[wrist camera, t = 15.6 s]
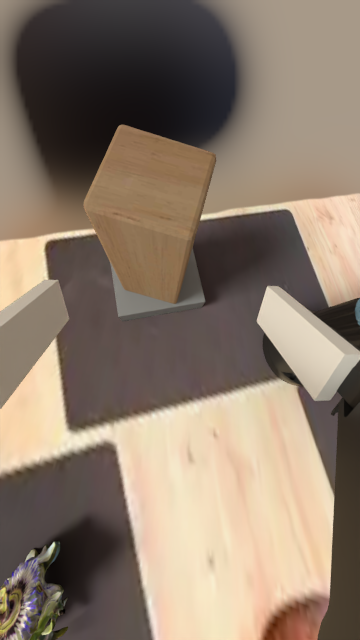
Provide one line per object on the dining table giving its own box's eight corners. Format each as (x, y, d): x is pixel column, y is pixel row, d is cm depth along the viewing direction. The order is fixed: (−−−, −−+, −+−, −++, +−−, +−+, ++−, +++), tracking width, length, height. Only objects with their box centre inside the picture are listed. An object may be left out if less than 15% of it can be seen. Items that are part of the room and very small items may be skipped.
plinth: (188, 251, 43) (190, 240, 40) (201, 307, 41) (205, 301, 37) (113, 261, 41) (108, 250, 37) (122, 321, 39) (118, 316, 35)
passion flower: (53, 526, 35) (44, 524, 28) (96, 580, 33) (99, 594, 25) (-28, 625, 27) (-74, 661, 19) (20, 707, 25) (-11, 785, 17)
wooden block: (139, 243, 38) (118, 120, 19) (189, 258, 39) (218, 151, 19) (123, 290, 36) (79, 204, 17) (176, 305, 36) (193, 238, 17)
